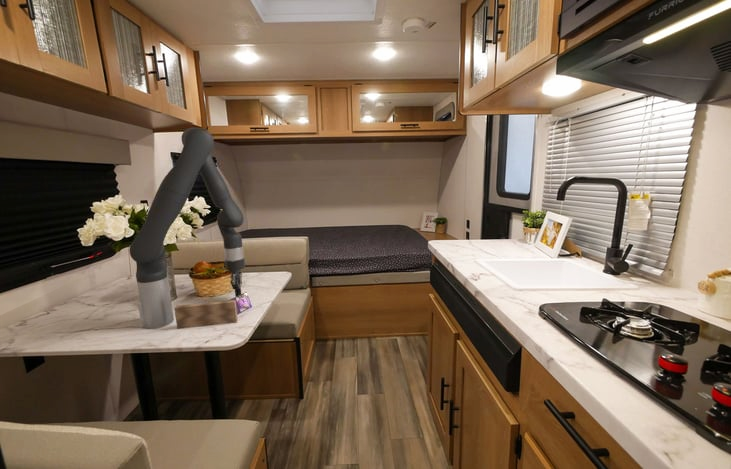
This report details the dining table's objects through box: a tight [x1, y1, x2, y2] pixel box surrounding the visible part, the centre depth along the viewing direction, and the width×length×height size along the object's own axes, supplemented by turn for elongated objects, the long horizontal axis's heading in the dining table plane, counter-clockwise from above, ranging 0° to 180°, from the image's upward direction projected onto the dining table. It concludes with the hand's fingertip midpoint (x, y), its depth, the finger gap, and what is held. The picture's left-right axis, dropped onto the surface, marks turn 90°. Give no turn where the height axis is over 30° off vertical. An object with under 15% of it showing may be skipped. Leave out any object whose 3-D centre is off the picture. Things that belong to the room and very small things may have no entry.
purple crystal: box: [227, 291, 253, 316], centre depth 125 cm, size 7×5×9 cm
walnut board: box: [173, 299, 238, 330], centre depth 113 cm, size 20×2×8 cm, turn 102°
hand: (238, 296), depth 133 cm, fingers closed
